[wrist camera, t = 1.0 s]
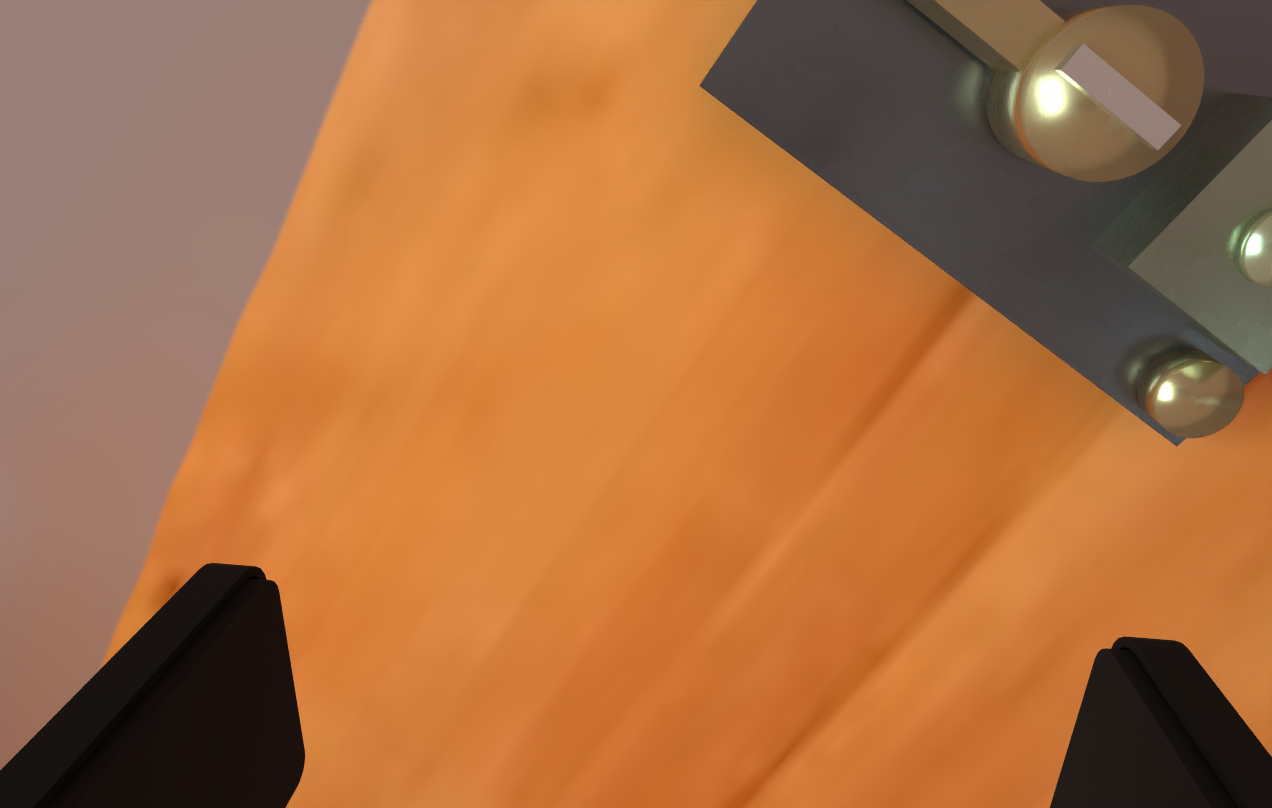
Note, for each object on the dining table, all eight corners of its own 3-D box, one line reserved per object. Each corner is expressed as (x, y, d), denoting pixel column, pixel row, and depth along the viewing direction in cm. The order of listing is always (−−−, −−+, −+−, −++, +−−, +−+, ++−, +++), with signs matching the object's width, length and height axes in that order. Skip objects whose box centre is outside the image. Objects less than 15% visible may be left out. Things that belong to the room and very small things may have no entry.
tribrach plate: (1456, 143, 29) (1616, 165, 24) (1152, 424, 34) (1229, 493, 28) (959, -299, 25) (1019, -385, 20) (701, 83, 30) (696, 91, 25)
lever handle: (1170, 70, 27) (1252, 75, 23) (1060, 192, 28) (1117, 217, 24) (864, -190, 25) (893, -235, 21) (766, -42, 26) (774, -58, 22)
